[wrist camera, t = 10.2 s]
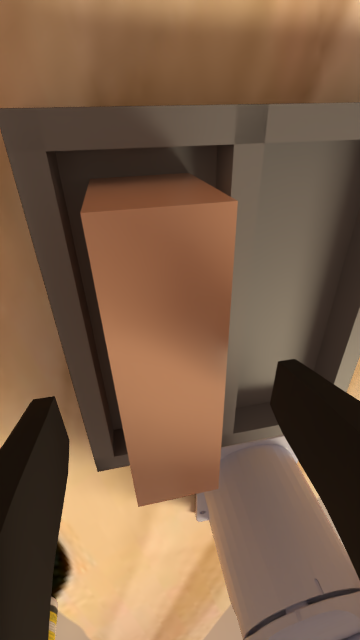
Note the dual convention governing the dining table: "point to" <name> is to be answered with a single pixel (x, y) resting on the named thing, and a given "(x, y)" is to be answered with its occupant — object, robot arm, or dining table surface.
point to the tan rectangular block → (165, 321)
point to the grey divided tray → (250, 241)
